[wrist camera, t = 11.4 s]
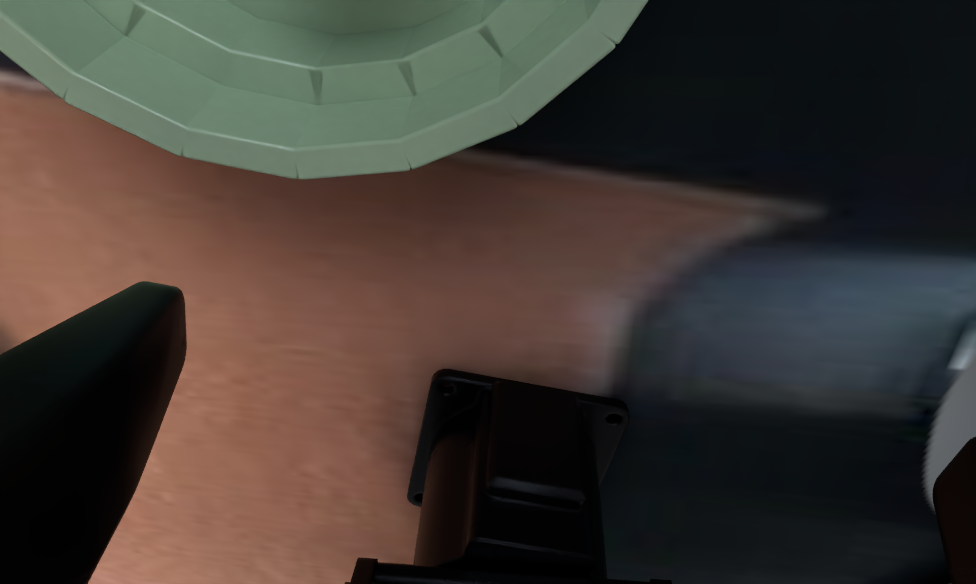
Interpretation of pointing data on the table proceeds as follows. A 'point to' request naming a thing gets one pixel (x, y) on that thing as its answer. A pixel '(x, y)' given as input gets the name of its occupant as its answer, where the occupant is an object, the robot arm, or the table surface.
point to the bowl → (312, 73)
